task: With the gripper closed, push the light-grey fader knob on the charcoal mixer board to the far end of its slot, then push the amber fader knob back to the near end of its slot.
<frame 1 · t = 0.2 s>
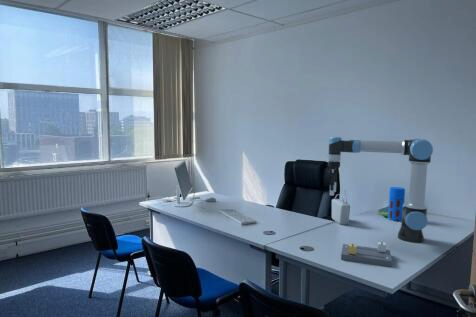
hand: (332, 193, 228), 28 cm above the table, fingers open, 13 cm apart
thermos: (395, 219, 275), on the table
white jerry can: (340, 222, 265), on the table
fader amber: (352, 248, 189), point 5 cm above the table, slide at 15.0 cm
mixer board: (365, 257, 191), on the table
fader grey: (381, 246, 193), point 5 cm above the table, slide at 0.0 cm
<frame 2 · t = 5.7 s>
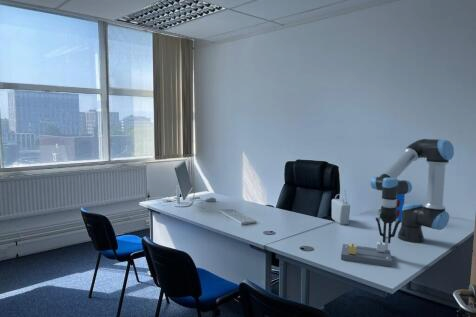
hand: (386, 248, 192), 5 cm above the table, fingers closed
fader grey: (380, 246, 193), point 5 cm above the table, slide at 0.4 cm, touching gripper
everything else where it was.
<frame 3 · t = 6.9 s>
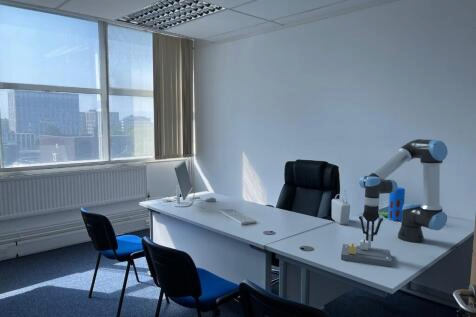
hand: (369, 246, 195), 5 cm above the table, fingers closed
fader grey: (364, 244, 196), point 5 cm above the table, slide at 9.1 cm, touching gripper
everything else where it was.
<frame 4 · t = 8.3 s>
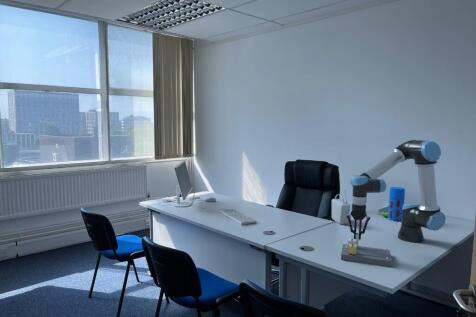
hand: (356, 244, 197), 5 cm above the table, fingers closed
fader grey: (351, 243, 198), point 5 cm above the table, slide at 15.6 cm, touching gripper
everything else where it was.
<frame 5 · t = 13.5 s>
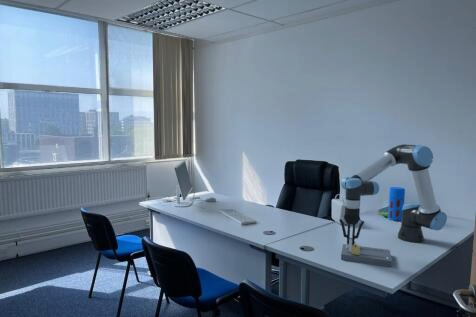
hand: (350, 250, 189), 5 cm above the table, fingers closed
fader amber: (355, 249, 188), point 5 cm above the table, slide at 13.4 cm, touching gripper
fader grey: (351, 243, 198), point 5 cm above the table, slide at 15.7 cm
everything else where it was.
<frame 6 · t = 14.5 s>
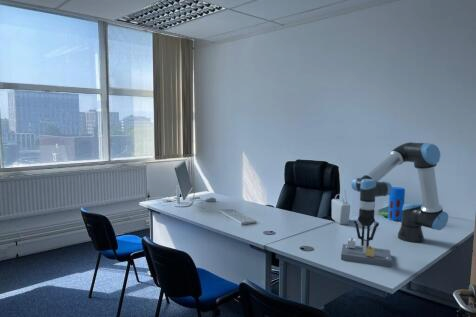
hand: (364, 252, 187), 5 cm above the table, fingers closed
fader amber: (370, 251, 186), point 5 cm above the table, slide at 6.1 cm, touching gripper
everything else where it was.
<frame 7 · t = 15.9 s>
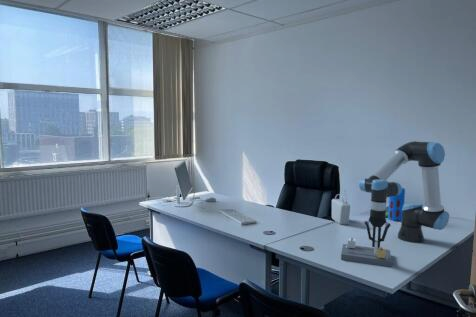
hand: (375, 253, 185), 5 cm above the table, fingers closed
fader amber: (381, 252, 184), point 5 cm above the table, slide at 0.6 cm, touching gripper
everything else where it was.
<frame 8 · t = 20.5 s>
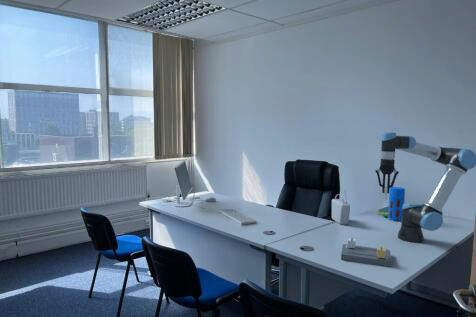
hand: (385, 198, 206), 29 cm above the table, fingers closed
fader amber: (381, 252, 184), point 5 cm above the table, slide at 0.6 cm
everything else where it was.
at the end: fader grey slide at 15.7 cm; fader amber slide at 0.6 cm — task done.
